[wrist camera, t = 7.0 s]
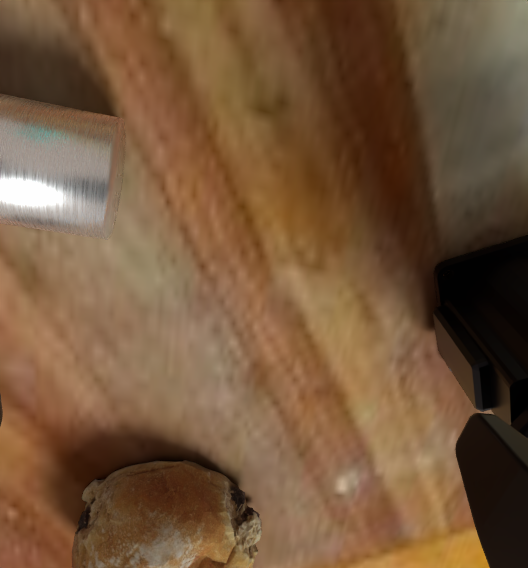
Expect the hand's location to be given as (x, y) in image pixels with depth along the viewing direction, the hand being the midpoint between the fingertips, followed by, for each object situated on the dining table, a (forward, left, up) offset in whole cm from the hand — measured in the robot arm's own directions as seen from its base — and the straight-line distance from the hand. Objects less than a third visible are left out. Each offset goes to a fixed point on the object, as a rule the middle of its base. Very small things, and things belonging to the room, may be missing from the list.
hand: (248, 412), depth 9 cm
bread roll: (+10, +18, -12) cm, 24 cm away
